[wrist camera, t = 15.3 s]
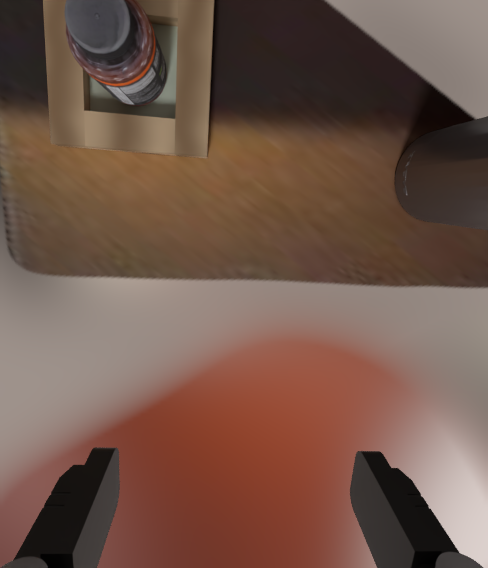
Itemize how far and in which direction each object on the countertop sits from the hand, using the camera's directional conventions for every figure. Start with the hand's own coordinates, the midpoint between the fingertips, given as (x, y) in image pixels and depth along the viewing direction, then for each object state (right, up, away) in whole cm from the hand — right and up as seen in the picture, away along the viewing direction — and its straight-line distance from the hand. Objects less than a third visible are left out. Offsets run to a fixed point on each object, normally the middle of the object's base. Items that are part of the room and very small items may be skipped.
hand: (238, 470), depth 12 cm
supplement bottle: (-10, +26, +21) cm, 35 cm away
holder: (-10, +26, +21) cm, 35 cm away
